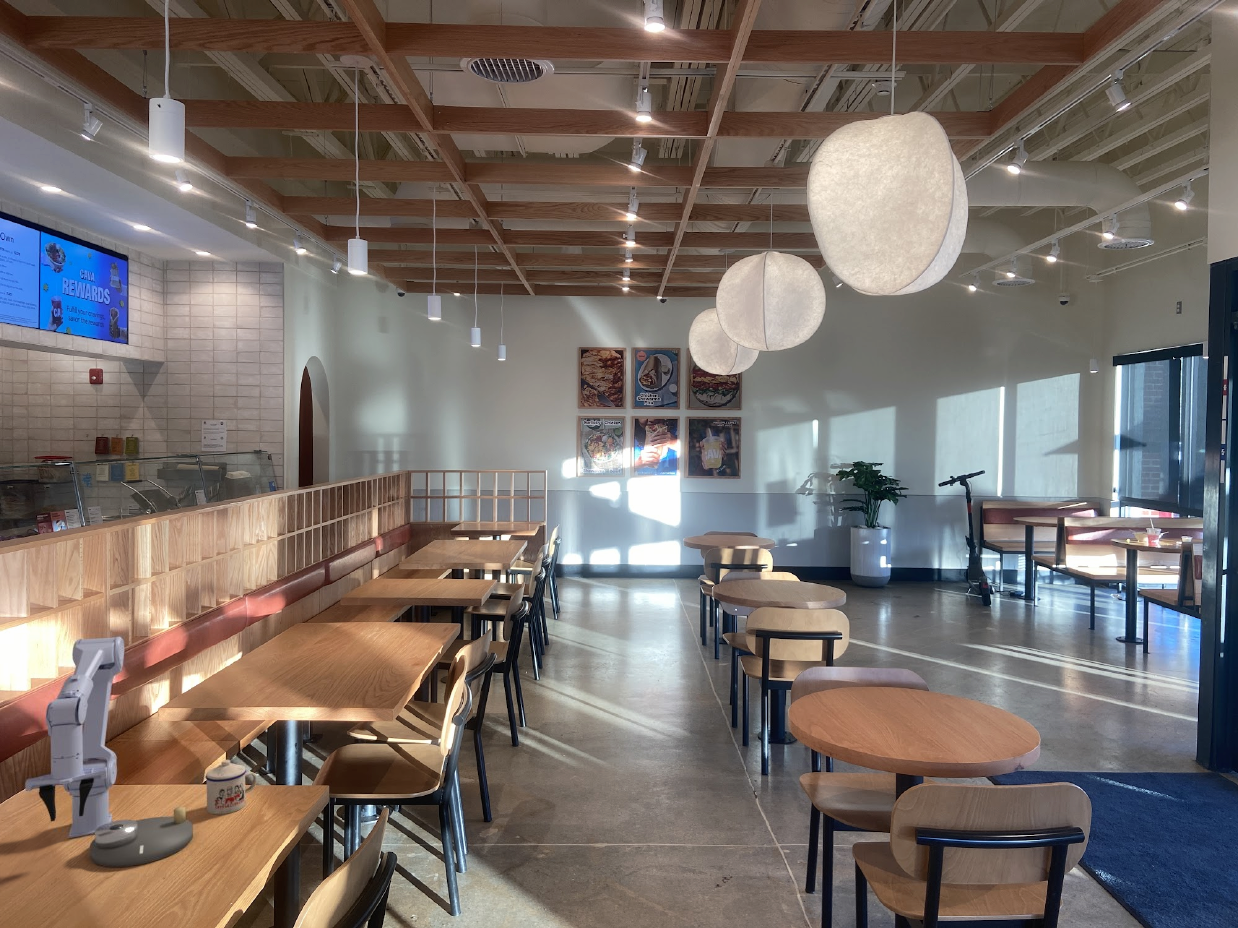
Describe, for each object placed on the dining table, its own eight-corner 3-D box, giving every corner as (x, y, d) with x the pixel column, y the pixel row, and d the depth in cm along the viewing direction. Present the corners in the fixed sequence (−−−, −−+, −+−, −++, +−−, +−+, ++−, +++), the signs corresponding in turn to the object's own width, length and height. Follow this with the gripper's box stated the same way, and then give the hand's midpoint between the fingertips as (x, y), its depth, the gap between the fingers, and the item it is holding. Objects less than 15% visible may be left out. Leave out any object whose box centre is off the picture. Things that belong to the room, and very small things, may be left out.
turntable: (93, 836, 190) (93, 814, 190) (192, 818, 200) (191, 797, 199) (85, 875, 172) (85, 851, 172) (193, 853, 182) (193, 830, 182)
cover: (96, 837, 185) (96, 823, 185) (138, 829, 189) (137, 815, 189) (93, 852, 178) (93, 837, 178) (136, 844, 182) (136, 829, 182)
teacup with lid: (213, 818, 200) (213, 770, 200) (200, 807, 206) (200, 760, 206) (264, 804, 208) (263, 757, 208) (249, 793, 215) (249, 748, 215)
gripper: (22, 766, 172) (23, 831, 172) (105, 753, 179) (105, 816, 179) (28, 755, 178) (28, 818, 179) (107, 744, 185) (107, 804, 185)
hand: (67, 816), depth 179 cm, fingers open, 4 cm apart
